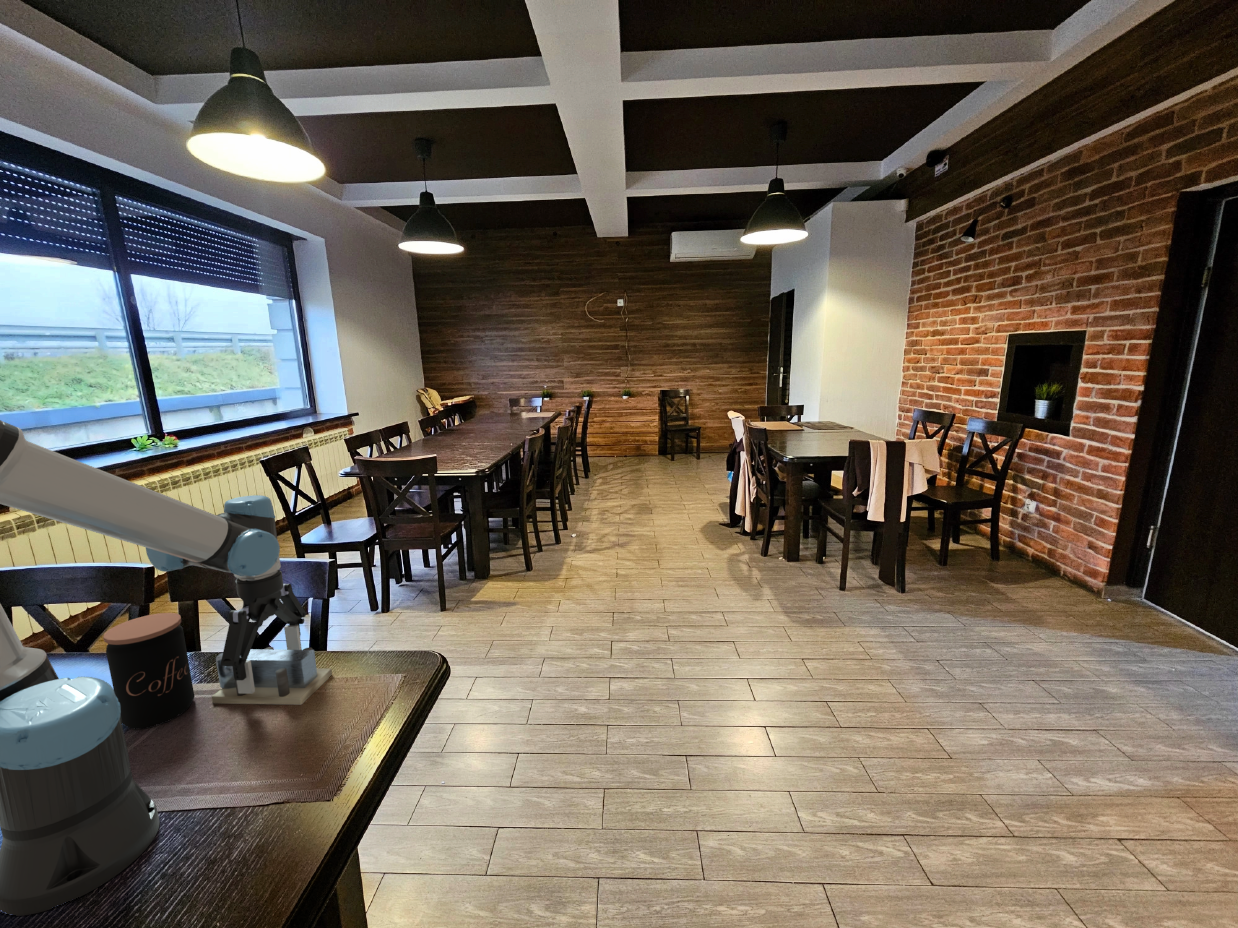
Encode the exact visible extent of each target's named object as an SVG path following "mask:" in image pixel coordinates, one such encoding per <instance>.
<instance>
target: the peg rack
mask: <svg viewBox="0 0 1238 928" xmlns="http://www.w3.org/2000/svg"><path fill="white" fill-rule="evenodd" d="M264 649H269V650H275V648H274V647H273V646H269V647H266V648H264ZM302 650H313V647H305V648H303V649H302ZM316 669H317V677H316V678H315V679H314V680H313V681H312V682H311V683H310V684H309V685H308V686H307V687H306V688H289V683H288V676H287V669H286V668H282V669H279V670H277V671H276V678H277V686H278V688H265V687H255V692H254V693H252V694H244V693H238V687H237V680H235V684H236V687H235V688H230V689H223V688H221V689H220V690H218V691H217V692H216V693H214V694H213V695H211V702H212V704H229V705H230V704H232V705H237V704H238V705H239V704H240V705H292V706H296V705H299V706H301V705H303V704H304V703H305V702H306V701H307V699H309V698H310V697H311V696H312V695H313V694H314V693H316V691H317V690H318V689H319V688H320V687H321V686H322V685H324V683H326V681H327V680H329V679H330V678H331V677H332V676H333V673H332V672H333V670H332V668H325V667H324V668H323V667H322V668H318V667H316ZM331 675H332V676H331ZM330 676H331V677H330ZM329 677H330V678H329Z"/></svg>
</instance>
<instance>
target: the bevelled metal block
mask: <svg viewBox="0 0 1238 928" xmlns="http://www.w3.org/2000/svg"><path fill="white" fill-rule="evenodd" d="M222 655H223V652H221V653H219V654H218V655H216V657H215V662H216V663H215V664H216V668H217V669H216V670H217V674H218V681H219V687H220V688H221V689H222V688H223V689H230V688H235V687H236V684H235V679H234V673H233V667H232V666H221V660H222ZM240 657H241V655H240ZM247 660H251V666H252V673H253V680H254V687H265V688H278V686H277V678H276V671H277V670H279V669H282V668H286V669H287V676H288V683H289V688H306V687H307V686H308V685H309V684H310V683H311V682H312V681H313V680H314V679H315V678H316V677H317V669H316V668H317V662H316V655H315V649H312V650H303V649H302V650H287V649H274V650H269V649H265V648H264V649H262V648H261V649H259V648H258V649H257V648H256V649H253V648H251V650H250V652H249V655H248V658H247Z"/></svg>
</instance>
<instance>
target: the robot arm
mask: <svg viewBox="0 0 1238 928" xmlns="http://www.w3.org/2000/svg"><path fill="white" fill-rule="evenodd" d="M0 505H3V506H5V507H6V506H7V507H9V508H13V509H15V510H16V509H17V510H19V511H23V512H26V513H30V514H33V515H36V516H39V517H43V518H46V519H49V520H53V521H57V522H60V523H63V524H66V525H71V526H73V527H76V528H80V529H83V530H87V531H89V532H92V533H96V534H100V535H103V536H107V537H110V538H114V539H117V540H120V541H124V542H127V543H130V544H133V545H137V546H140V547H144V548H145V552H146V556H147V558H148V560H149V563H150V564H152V566H153V568H155V569H156V570H158V571H159V572H164V573H165V572H172V571H175V570H182V569H184V568H186V567H189V566H195V567H200V568H205V569H208V570H209V569H210V570H216V571H221V572H224V573H230V574H233V576H234V578H236V579H235V586H236V587H235V589H236V594H237V597H238V598H240V599H241V600H242V603H243V604H242V608H240V609H238V610H234V609H232V610H230V611H229V612H228V622H229V623H228V628H227V633H226V638H225V641H224V642H225V643H224V647H223V651H222V653H223V655H222V660H221V666H232V667H233V673H234V679H235V680H237V687H238V693H244V694H252V693H254V692H255V687H254V680H253V673H252V666H251V660H247V658H248V655H249V652H250V650H251V649H252V647H253V644H254V641H255V640H256V636H257V633H258V630H259V628H261V627H262V626H263V623H264V622H265V621H267V620H268V619H269V618H270V617H272V616H275V617H277V618H278V619H280V620H282V621H283V622H284V623H286V625H285V626H284V628H283V629H284V635H285V643H286V644H285V645H286V650H303V649H302V648H303V647H302V643H301V628H300V627H301V626H300V625H303V624H304V623H305V619H304V618H306V615H307V612H306V611H305V609H304V608H303V606H302V604H301V602H300V601H299V600H298V598H297V596H296V594H295V593H294V591H293V586H292V584H291V583H284V580H283V572H282V571H281V570H280V569H281V568H282V567H281V566H282V565H281V559H280V550H281V549H280V548H281V547H280V543H279V541H278V534H277V527H276V515H275V511H274V505H273V503H272V500H271V498H269V496H266V495H260V494H259V495H255V494H254V495H245V496H244V495H243V496H238V497H234V498H232V499H228V500H226V501H225V502H224V505H223V507H224V508H223V512H221V513H218V514H214V513H211V512H210V511H209V512H208V511H206V510H203V509H201V508H199V507H195V506H193V505H191V504H188V503H185V502H183V501H181V500H178V499H175V498H173V497H171V496H168V495H165V494H163V493H160V492H158V491H155V490H153V489H151V488H147V487H146V486H143V485H140V484H137V483H135V482H132V481H130V480H127V479H125V478H122V477H120V476H117V475H115V474H112V473H110V472H107V471H104V470H102V469H99V468H97V467H94V466H92V465H90V464H86V463H84V462H81V461H80V460H76V459H74V458H71V457H69V456H66V455H64V454H61V453H59V452H57V451H54V450H51V449H48V448H46V447H43V446H41V445H38V444H35V443H34V442H30V441H28V440H27V439H26V438H25V435H24V432H23V430H22V428H20V427H18V426H16V425H13V424H11V423H7V422H6V421H2V420H1V419H0ZM250 620H251V621H250ZM240 655H241V657H240ZM120 709H121V707H120V703H119V702H118V699H117V697H116V696H115V693H114V689H113V686H112V685H111V684H109V683H108V682H107V681H105V680H104V679H101V678H98V677H93V676H77V677H75V678H72V679H71V678H70V677H64V678H59V676H58V674H57V672H56V671H55V668H54V667H53V665H52V663H51V661H50V658H49V657H48V655H47V653H46V651H45V650H44V649H41V648H36V647H35V648H33V647H26V646H23V643H22V641H21V640H20V638H19V636H18V634H17V632H16V631H15V629H14V626H13V625H12V623H11V621H10V619H9V618H8V615H7V613H6V611H5V609H4V608H3V606H2V604H1V603H0V831H1V832H0V833H1V835H2V841H1V845H0V910H2V911H3V912H6V913H7V914H13V915H16V917H17V916H19V917H20V916H21V917H22V916H28V915H35V914H38V913H43V912H46V911H50V910H53V909H52V907H55V906H57V905H61V904H63V903H65V902H68V901H70V902H72V899H75V900H77V899H79V898H81V897H82V896H85V895H86V894H88V893H90V892H92V891H94V890H95V889H97V888H99V887H100V886H103V885H104V884H107V883H108V882H109V881H111V879H113V878H114V877H117V876H118V875H119V874H120V873H121V872H123V871H125V869H127V868H128V867H129V866H130V865H131V864H133V862H135V861H136V860H137V859H138V858H140V856H141V855H142V854H143V853H144V852H145V851H146V850H147V849H148V847H149V846H150V845H151V843H152V842H153V841H154V839H155V837H156V836H157V833H158V831H159V829H160V816H159V811H158V807H157V805H156V803H155V801H153V800H152V798H151V797H150V796H149V795H148V794H147V793H146V792H145V791H144V790H143V788H141V786H140V785H139V784H138V783H137V782H136V780H134V778H133V774H132V768H131V762H130V758H129V754H128V753H129V752H128V747H127V743H126V742H127V741H126V737H125V731H124V727H123V726H124V725H123V724H122V720H121V715H120V713H121V710H120ZM78 897H79V898H78ZM76 898H77V899H76ZM68 903H69V902H68ZM63 905H64V904H63ZM61 906H62V905H61ZM55 908H56V907H55Z"/></svg>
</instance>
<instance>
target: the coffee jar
mask: <svg viewBox="0 0 1238 928" xmlns="http://www.w3.org/2000/svg"><path fill="white" fill-rule="evenodd" d="M181 623H182V617H181V615H180V614H178V613H177V612H176V613H174V612H159V613H153V614H147V615H144V616H141V617H140V616H139V617H137V618H132V619H130V620H126V621H124V622H121V623H119V624H117V625H115V626H113V627H111V628H110V629H108V630H107V631H106V632H105V633H104V634H103V637H102V639H103V641H104V643H106V644H107V645H106V647H105V648H106V650H105V654H106V658H107V663H108V670H109V673H110V678H111V684H112V688H113V690H114V693H115V696H116V697H117V699H118V702H119V703H120V707H121V709H120V710H121V713H120V715H121V720H122V725H123V726H125V727H126V728H129V730H131V729H132V730H143V729H149V728H153V727H157V726H159V725H161V724H162V725H163V724H166V723H167V722H170V721H172V720H174V719H177V718H178V717H179V716H180V715H182V714H184V713H185V712H186V711H187V710H188V709H189V708H190V707H191V704H192V703H193V701H194V699H195V692H194V686H193V681H192V673H191V668H190V662H189V656H188V651H187V644H186V639H185V634H184V628H183V627H182V625H180V624H181Z"/></svg>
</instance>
